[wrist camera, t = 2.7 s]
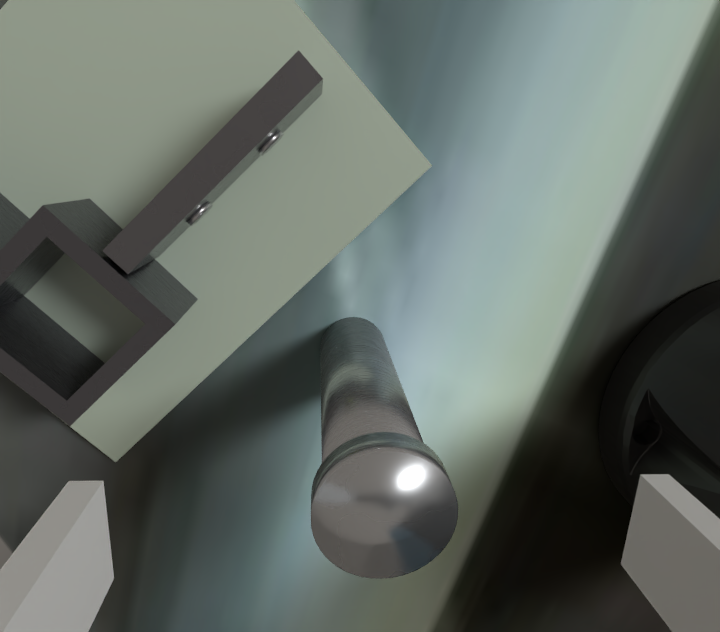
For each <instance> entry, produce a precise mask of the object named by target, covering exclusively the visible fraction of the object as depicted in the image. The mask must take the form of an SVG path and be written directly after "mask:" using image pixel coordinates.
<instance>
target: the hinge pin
mask: <svg viewBox="0 0 720 632" xmlns="http://www.w3.org/2000/svg"><path fill="white" fill-rule="evenodd" d="M320 357H321V427H322V464H321V466H320V467H319V469H318V471H317V473H316V476H315V478H314V481H313V485H312V494H311V527H312V532H313V536H314V538H315V541H316V543H317V545H318V547H319V549H320V550H321V551H322V553H323V554H324V555H325V557H327V558H328V559H329V560H330V561H331V562H332V563H333V564H335V565H336V566H337V567H339V568H341V569H343V570H344V571H346V572H349V573H351V574H354V575H358V576H361V577H367V578H392V577H397V576H401V575H405V574H408V573H411V572H413V571H415V570H418V569H419V568H421V567H423V566H425V565H426V564H428V563H429V562H430V561H432V560H433V559H434V558H435V557H436V556H438V555H439V554H440V553H441V551H442V550H443V549H444V548H445V547H446V545H447V544H448V542H449V541H450V539H451V537H452V535H453V533H454V530H455V527H456V523H457V518H458V504H457V498H456V495H455V491H454V489H453V487H452V484H451V482H450V480H449V477H448V475H447V472H446V470H445V468H444V466H443V463H442V462H441V460H440V459H439V457H438V456H437V455H436V454H435V452H434V451H433V450H432V449H430V448H429V447H428V446H427V445H426V444H424V443H423V440H422V438H421V435H420V433H419V430H418V427H417V425H416V422H415V420H414V417H413V414H412V412H411V409H410V406H409V404H408V401H407V399H406V396H405V393H404V391H403V388H402V386H401V383H400V380H399V378H398V375H397V372H396V370H395V367H394V365H393V362H392V359H391V357H390V354H389V352H388V349H387V346H386V344H385V341H384V338H383V336H382V334H381V332H380V330H379V329H378V328H377V327H376V326H375V325H374V324H373V323H371V322H370V321H368V320H365V319H363V318H358V317H349V318H344V319H341V320H339V321H337V322H335V323H334V324H332V325H331V326H330V327H329V328H328V329H327V330H326V332H325V333H324V335H323V338H322V340H321V346H320Z"/></svg>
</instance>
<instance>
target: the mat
mask: <svg viewBox="0 0 720 632" xmlns="http://www.w3.org/2000/svg"><path fill="white" fill-rule="evenodd" d="M298 50H299V51H300V52H301V53H302V55H303V56H304V57H305V58H306V59H307V60H308V62H309V63H310V64H311V65H312V66H313V67H314V69H315V70H316V71H317V72H318V73H319V74H320V76H321V77H322V78H323V88H322V95H321V96H320V97H319V98H318V99H317V100H316V101H315V102H314V103H313V104H312V105H311V106H310V107H309V108H308V109H307V110H306V111H305V112H304V113H303V114H302V115H301V116H300V117H299V118H298V119H297V120H296V121H295V122H294V123H293V124H292V125H291V126H290V127H289V128H288V129H287V130H286V131H285V132H284V133H283V134H284V135H283V137H282V138H281V139H280V140H279V141H278V142H277V143H276V144H275V145H274V146H273V147H272V148H271V149H270V150H269V151H268V152H267V153H266V154H265V155H263V156H260V157H259V158H258V159H257V160H256V161H255V162H254V163H253V164H252V165H251V166H250V167H249V168H248V169H247V170H246V171H245V172H244V173H243V174H242V175H241V176H240V177H239V178H238V179H237V180H236V181H235V182H233V183H232V184H231V185H230V186H229V187H228V188H227V189H226V190H225V191H224V192H223V193H222V194H221V195H220V196H219V197H218V198H217V199H216V200H215V201H214V202H213V203H212V205H213V206H212V208H211V209H210V210H209V211H208V212H207V213H206V214H205V215H204V216H203V217H202V218H201V219H200V220H199V221H198V222H197V223H195V224H194V225H193V226H189V227H188V228H187V229H186V230H185V231H184V232H183V233H182V234H181V235H180V236H179V237H178V238H177V239H176V240H175V241H174V242H173V243H172V244H171V245H170V246H169V247H168V248H167V249H166V250H165V251H164V252H163V253H162V254H161V255H160V256H159V257H158V258H156V259H155V260H156V261H158V262H159V263H160V264H161V265H162V266H163V267H164V268H165V269H166V270H167V271H168V272H169V273H170V274H172V275H173V276H174V277H175V278H176V279H177V280H178V281H179V282H180V283H181V284H182V285H183V286H184V287H186V288H187V289H188V290H189V291H190V292H191V293H192V294H193V295H194V296H195V297H196V298H197V299H198V300H197V301H196V302H195V303H194V304H193V305H192V307H191V308H190V309H189V310H188V311H187V312H186V313H185V314H184V315H183V317H182V318H181V319H180V320H179V321H178V322H177V323H176V324H175V325H174V326H173V327H172V328H171V329H170V330H169V331H168V332H167V333H166V334H165V335H164V336H163V337H162V338H161V339H160V340H159V341H158V342H157V343H156V344H155V345H154V346H153V347H152V348H151V349H150V350H148V351H147V352H146V353H145V354H144V355H143V356H142V357H141V358H140V359H139V360H138V361H137V362H136V363H135V364H134V365H133V366H132V367H131V368H130V369H129V370H128V371H127V372H126V373H125V374H124V375H123V376H122V377H121V378H120V379H119V380H117V381H116V382H115V383H114V384H113V385H112V386H111V387H110V388H109V389H108V390H107V391H106V392H105V393H104V394H103V395H102V396H101V397H100V398H99V399H98V400H97V401H96V402H95V403H94V404H93V405H92V406H91V407H90V408H89V409H88V410H86V411H85V412H84V413H83V414H82V415H81V416H80V417H79V418H78V419H77V420H76V421H75V422H74V423H73V424H72V425H71V426H70V427H71V428H72V429H74V430H75V431H76V432H78V433H79V434H80V435H81V436H83V437H84V438H85V439H86V440H88V441H89V442H90V443H92V444H93V445H94V446H95V447H97V448H98V449H99V450H101V451H102V452H103V453H104V454H106V455H107V456H108V457H110V458H111V459H112V460H113V461H115V462H117V461H118V460H119V459H120V458H121V457H122V456H123V455H124V454H125V453H126V452H127V451H128V450H129V449H130V448H131V447H133V446H134V445H135V444H136V443H137V442H138V441H139V440H140V439H141V438H142V437H143V436H144V435H145V434H146V433H147V432H149V431H150V430H151V429H152V428H153V427H154V426H155V425H156V424H157V423H158V422H159V421H160V420H161V419H162V418H163V417H165V416H166V415H167V414H168V413H169V412H170V411H171V410H172V409H173V408H174V407H175V406H176V405H177V404H178V403H179V402H181V401H182V400H183V399H184V398H185V397H186V396H187V395H188V394H189V393H190V392H191V391H192V390H193V389H194V388H195V387H197V386H198V385H199V384H200V383H201V382H202V381H203V380H204V379H205V378H206V377H207V376H208V375H209V374H210V373H211V372H213V371H214V370H215V369H216V368H217V367H218V366H219V365H220V364H221V363H222V362H223V361H224V360H225V359H226V358H227V357H229V356H230V355H231V354H232V353H233V352H234V351H235V350H236V349H237V348H238V347H239V346H240V345H241V344H242V343H243V342H245V341H246V340H247V339H248V338H249V337H250V336H251V335H252V334H253V333H254V332H255V331H256V330H257V329H258V328H259V327H261V326H262V325H263V324H264V323H265V322H266V321H267V320H268V319H269V318H270V317H271V316H272V315H273V314H274V313H275V312H277V311H278V310H279V309H280V308H281V307H282V306H283V305H284V304H285V303H286V302H287V301H288V300H289V299H290V298H291V297H293V296H294V295H295V294H296V293H297V292H298V291H299V290H300V289H301V288H302V287H303V286H304V285H305V284H306V283H307V282H309V281H310V280H311V279H312V278H313V277H314V276H315V275H316V274H317V273H318V272H319V271H320V270H321V269H322V268H323V267H325V266H326V265H327V264H328V263H329V262H330V261H331V260H332V259H333V258H334V257H335V256H336V255H337V254H338V253H339V252H341V251H342V250H343V249H344V248H345V247H346V246H347V245H348V244H349V243H350V242H351V241H352V240H353V239H354V238H355V237H357V236H358V235H359V234H360V233H361V232H362V231H363V230H364V229H365V228H366V227H367V226H368V225H369V224H370V223H371V222H373V221H374V220H375V219H376V218H377V217H378V216H379V215H380V214H381V213H382V212H383V211H384V210H385V209H386V208H387V207H389V206H390V205H391V204H392V203H393V202H394V201H395V200H396V199H397V198H398V197H399V196H400V195H401V194H402V193H403V192H405V191H406V190H407V189H408V188H409V187H410V186H411V185H412V184H413V183H414V182H415V181H416V180H417V179H418V178H419V177H421V176H422V175H423V174H424V173H425V172H426V171H427V170H428V169H429V168H430V167H431V166H432V165H431V164H430V163H429V161H428V160H427V159H426V158H425V157H424V155H423V154H422V153H421V152H420V151H419V149H418V148H417V147H416V146H415V145H414V143H413V142H412V141H411V140H410V139H409V137H408V136H407V135H406V134H405V133H404V131H403V130H402V129H401V128H400V127H399V126H398V124H397V123H396V122H395V121H394V120H393V118H392V117H391V116H390V115H389V114H388V112H387V111H386V110H385V109H384V108H383V106H382V105H381V104H380V103H379V102H378V100H377V99H376V98H375V97H374V96H373V94H372V93H371V92H370V91H369V90H368V88H367V87H366V86H365V85H364V84H363V82H362V81H361V80H360V79H359V78H358V76H357V75H356V74H355V73H354V72H353V70H352V69H351V68H350V67H349V66H348V64H347V63H346V62H345V61H344V60H343V58H342V57H341V56H340V55H339V54H338V52H337V51H336V50H335V49H334V48H333V46H332V45H331V44H330V43H329V42H328V41H327V39H326V38H325V37H324V36H323V35H322V33H321V32H320V31H319V30H318V29H317V27H316V26H315V25H314V24H313V23H312V21H311V20H310V19H309V18H308V17H307V15H306V14H305V13H304V12H303V11H302V9H301V8H300V7H299V6H298V5H297V3H296V2H295V1H294V0H8V1H7V3H6V4H5V5H4V6H3V7H2V8H1V10H0V193H1V194H2V195H3V196H5V197H6V198H7V199H8V200H9V201H10V202H11V203H12V204H14V205H15V206H16V207H17V208H18V209H19V210H20V211H22V212H23V213H24V214H25V215H26V216H27V217H28V218H29V219H30V218H31V217H32V216H33V215H34V214H35V213H36V212H37V211H38V210H39V209H40V208H41V206H42V205H47V204H54V203H61V202H68V201H76V200H83V199H91V200H92V201H93V202H94V203H95V204H96V205H97V206H98V207H99V208H101V209H102V210H103V211H104V212H105V213H106V214H107V215H108V216H109V217H110V218H111V219H112V220H113V221H114V222H116V223H117V224H118V225H119V226H120V227H121V228H122V229H124V228H125V227H126V226H127V225H128V224H129V223H130V222H131V221H132V220H133V219H134V218H135V217H136V216H137V215H138V214H139V213H140V212H141V211H142V210H143V209H144V208H145V207H146V206H147V205H148V204H149V202H150V201H151V200H152V199H153V198H154V197H155V196H156V195H157V194H158V193H159V192H160V191H161V190H162V189H163V188H164V187H165V186H166V185H167V184H168V183H169V182H170V181H171V180H172V179H173V178H174V177H175V176H176V175H177V174H178V173H179V172H180V171H181V170H182V169H183V168H184V167H185V166H186V165H187V164H188V163H189V162H190V161H191V160H192V159H193V158H194V156H195V155H196V154H197V153H198V152H199V151H200V150H201V149H202V148H203V147H204V146H205V145H206V144H207V143H208V142H209V141H210V140H211V139H212V138H213V137H214V136H215V135H216V134H217V133H218V132H219V131H220V130H221V129H222V128H223V127H224V126H225V125H226V124H227V123H228V122H229V121H230V120H231V119H232V118H233V117H234V116H235V115H236V114H237V113H238V112H239V110H240V109H241V108H242V107H243V106H244V105H245V104H246V103H247V102H248V101H249V100H250V99H251V98H252V97H253V96H254V95H255V94H256V93H257V92H258V91H259V90H260V89H261V88H262V87H263V86H264V85H265V84H266V83H267V82H268V81H269V80H270V79H271V78H272V77H273V76H274V75H275V74H276V73H277V72H278V71H279V70H280V69H281V68H282V67H283V66H284V64H285V63H286V62H287V61H288V60H289V59H290V58H291V57H292V56H293V55H294V54H295V53H296V52H297V51H298ZM24 296H25V297H26V298H28V299H29V300H30V301H31V302H32V303H34V304H35V305H36V306H37V307H38V308H40V309H41V310H42V311H43V312H44V313H46V314H47V315H48V316H49V317H50V318H51V319H53V320H54V321H55V322H56V323H57V324H59V325H60V326H61V327H62V328H63V329H65V330H66V331H67V332H68V333H69V334H71V335H72V336H73V337H74V338H75V339H77V340H78V341H79V342H80V343H81V344H83V345H84V346H85V347H86V348H87V349H89V350H90V351H91V352H92V353H93V354H94V355H96V356H97V357H98V358H99V359H100V360H102V361H103V362H104V363H106V362H107V361H108V360H109V359H110V358H111V357H112V356H113V355H114V354H115V353H116V352H117V351H118V350H119V349H120V348H121V347H122V346H123V345H124V344H125V343H126V342H127V341H128V340H129V339H130V338H131V337H133V336H134V335H135V334H136V333H137V332H138V331H139V330H140V329H141V328H142V327H143V326H144V325H145V323H144V322H143V321H141V320H140V319H139V318H138V317H137V316H136V315H135V314H134V313H132V312H131V311H130V310H129V309H128V308H127V307H126V306H125V305H123V304H122V303H121V302H120V301H119V300H118V299H117V298H115V297H114V296H113V295H112V294H111V293H110V292H109V291H108V290H106V289H105V288H104V287H103V286H102V285H101V284H100V283H98V282H97V281H96V280H95V279H94V278H93V277H92V276H91V275H89V274H88V273H87V272H86V271H85V270H84V269H83V268H81V267H80V266H79V265H78V264H77V263H76V262H75V261H74V260H72V259H71V258H70V257H69V256H68V255H67V254H66V253H65V254H64V255H63V256H62V257H61V258H60V259H59V260H58V261H57V262H56V263H55V264H54V265H53V266H52V267H51V268H50V269H49V270H48V271H47V272H46V274H45V275H44V276H43V277H42V278H41V279H40V280H39V281H38V282H37V283H36V284H35V285H34V286H33V287H32V288H31V289H30V290H29V291H28V292H27V293H26V294H25V295H24ZM3 375H4V374H3ZM8 379H9V378H8ZM17 386H18V385H17ZM26 393H27V392H26ZM31 397H32V396H31ZM40 404H41V403H40ZM49 411H50V410H49ZM54 415H55V414H54ZM58 418H59V417H58ZM63 422H64V421H63Z"/></svg>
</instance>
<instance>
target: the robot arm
mask: <svg viewBox="0 0 720 632" xmlns="http://www.w3.org/2000/svg"><path fill="white" fill-rule="evenodd" d="M599 445H600V452H601V456H602V460H603V463H604V466H605V469H606V471H607V473H608V476H609V478H610V479H611V481H612V483H613V484H614V486H615V487H616V489H617V490H618V491H619V493H620V494H621V495H622V496H623V497H624V498H625V499H626V501H627V502H628V503H629V504H630V505H631V506H632V507H633V510H632V515H631V519H630V524H629V528H628V533H627V537H626V542H625V547H624V551H623V556H622V560H621V565H622V566H623V568H624V569H625V570H626V572H627V573H628V574H629V576H630V577H631V578H632V580H633V581H634V582H635V583H636V585H637V586H638V587H639V589H640V590H641V591H642V593H643V594H644V595H645V597H646V598H647V599H648V601H649V602H650V603H651V604H652V606H653V607H654V608H655V610H656V611H657V612H658V614H659V615H660V616H661V618H662V619H663V620H664V621H665V623H666V624H667V625H668V627H669V628H670V629H671V631H672V632H720V281H717V282H714V283H711V284H709V285H706V286H704V287H701V288H699V289H697V290H695V291H693V292H691V293H689V294H688V295H686V296H684V297H682V298H681V299H679V300H678V301H676V302H675V303H673V304H672V305H670V306H669V307H667V308H666V309H665V310H664V311H662V312H661V313H660V314H659V315H657V316H656V317H655V318H654V319H653V320H652V321H651V322H650V323H649V324H648V325H647V326H646V327H645V328H644V329H643V330H642V331H641V332H640V333H639V334H638V335H637V336H636V338H635V339H634V340H633V341H632V343H631V344H630V345H629V347H628V348H627V349H626V351H625V352H624V354H623V355H622V357H621V359H620V360H619V362H618V364H617V365H616V367H615V369H614V371H613V373H612V375H611V378H610V380H609V382H608V385H607V388H606V391H605V393H604V397H603V401H602V405H601V410H600V417H599ZM113 580H114V573H113V564H112V555H111V546H110V537H109V527H108V518H107V509H106V500H105V491H104V482H103V481H68V483H67V484H66V485H65V487H64V488H63V489H62V490H61V492H60V493H59V494H58V496H57V497H56V498H55V499H54V501H53V502H52V503H51V505H50V506H49V507H48V508H47V510H46V511H45V512H44V514H43V515H42V516H41V518H40V519H39V520H38V521H37V523H36V524H35V525H34V527H33V528H32V529H31V530H30V532H29V533H28V534H27V536H26V537H25V538H24V539H23V541H22V542H21V543H20V545H19V546H18V547H17V549H16V550H15V551H14V552H13V554H12V555H11V556H10V558H9V559H8V560H7V561H6V563H5V564H4V565H3V567H2V568H1V569H0V632H88V631H89V629H90V627H91V625H92V623H93V621H94V619H95V617H96V615H97V613H98V611H99V608H100V606H101V604H102V602H103V600H104V598H105V596H106V594H107V592H108V590H109V588H110V586H111V584H112V582H113Z"/></svg>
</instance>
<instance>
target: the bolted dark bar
mask: <svg viewBox="0 0 720 632" xmlns="http://www.w3.org/2000/svg"><path fill="white" fill-rule="evenodd" d="M322 88H323V78H322V77H321V76H320V74H319V73H318V72H317V71H316V70H315V69H314V67H313V66H312V65H311V64H310V63H309V62H308V60H307V59H306V58H305V57H304V56H303V55H302V53H301V52H300V51H299V50H298V51H297V52H296V53H295V54H294V55H293V56H292V57H291V58H290V59H289V60H288V61H287V62H286V63H285V64H284V66H283V67H282V68H281V69H280V70H279V71H278V72H277V73H276V74H275V75H274V76H273V77H272V78H271V79H270V80H269V81H268V82H267V83H266V84H265V85H264V86H263V87H262V88H261V89H260V90H259V91H258V92H257V93H256V94H255V95H254V96H253V97H252V98H251V99H250V100H249V101H248V102H247V103H246V104H245V105H244V106H243V107H242V108H241V109H240V110H239V112H238V113H237V114H236V115H235V116H234V117H233V118H232V119H231V120H230V121H229V122H228V123H227V124H226V125H225V126H224V127H223V128H222V129H221V130H220V131H219V132H218V133H217V134H216V135H215V136H214V137H213V138H212V139H211V140H210V141H209V142H208V143H207V144H206V145H205V146H204V147H203V148H202V149H201V150H200V151H199V152H198V153H197V154H196V155H195V156H194V158H193V159H192V160H191V161H190V162H189V163H188V164H187V165H186V166H185V167H184V168H183V169H182V170H181V171H180V172H179V173H178V174H177V175H176V176H175V177H174V178H173V179H172V180H171V181H170V182H169V183H168V184H167V185H166V186H165V187H164V188H163V189H162V190H161V191H160V192H159V193H158V194H157V195H156V196H155V197H154V198H153V199H152V200H151V201H150V202H149V204H148V205H147V206H146V207H145V208H144V209H143V210H142V211H141V212H140V213H139V214H138V215H137V216H136V217H135V218H134V219H133V220H132V221H131V222H130V223H129V224H128V225H127V226H126V227H125V228H124V229H123V230H122V231H121V232H120V233H119V234H118V235H117V236H116V237H115V238H114V239H113V240H112V241H111V242H110V243H109V244H108V245H107V246H106V247H105V248H104V250H103V252H104V253H105V254H106V255H107V256H108V257H110V258H111V259H112V260H113V261H114V262H115V263H116V264H117V265H118V266H119V267H121V268H122V269H123V270H124V271H125V272H126V273H127V274H129V273H131V272H133V271H135V270H136V269H138V268H140V267H142V266H143V265H145V264H147V263H149V262H151V261H152V260H154V259H156V258H158V257H159V256H160V255H161V254H162V253H163V252H164V251H165V250H166V249H167V248H168V247H169V246H170V245H171V244H172V243H173V242H174V241H175V240H176V239H177V238H178V237H179V236H180V235H181V234H182V233H183V232H184V231H185V230H186V229H187V228H188V227H189V226H193V225H194V224H195V223H197V222H198V221H199V220H200V219H201V218H202V217H203V216H204V215H205V214H206V213H207V212H208V211H209V210H210V209H211V208H212V206H213V205H212V203H213V202H214V201H215V200H216V199H217V198H218V197H219V196H220V195H221V194H222V193H223V192H224V191H225V190H226V189H227V188H228V187H229V186H230V185H231V184H232V183H233V182H235V181H236V180H237V179H238V178H239V177H240V176H241V175H242V174H243V173H244V172H245V171H246V170H247V169H248V168H249V167H250V166H251V165H252V164H253V163H254V162H255V161H256V160H257V159H258V158H259V157H260V156H263V155H265V154H266V153H267V152H268V151H269V150H270V149H271V148H272V147H273V146H274V145H275V144H276V143H277V142H278V141H279V140H280V139H281V138H282V137H283V135H284V134H283V133H284V132H285V131H286V130H287V129H288V128H289V127H290V126H291V125H292V124H293V123H294V122H295V121H296V120H297V119H298V118H299V117H300V116H301V115H302V114H303V113H304V112H305V111H306V110H307V109H308V108H309V107H310V106H311V105H312V104H313V103H314V102H315V101H316V100H317V99H318V98H319V97H320V96H321V95H322Z"/></svg>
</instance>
